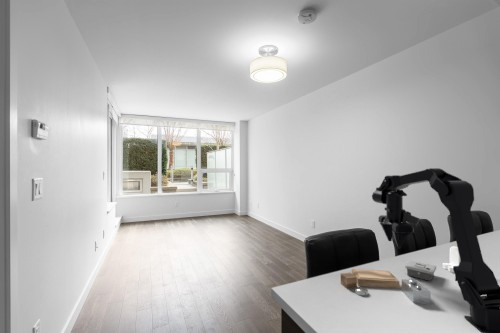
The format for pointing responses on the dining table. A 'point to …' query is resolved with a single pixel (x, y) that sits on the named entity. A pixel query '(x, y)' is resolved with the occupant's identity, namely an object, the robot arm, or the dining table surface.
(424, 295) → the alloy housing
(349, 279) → the walnut offcut
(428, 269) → the electrical switch
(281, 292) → the dining table surface
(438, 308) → the dining table surface
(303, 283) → the dining table surface
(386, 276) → the tan shallow rectangular tray
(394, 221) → the robot arm
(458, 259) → the cable organizer
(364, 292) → the chrome dome knob
